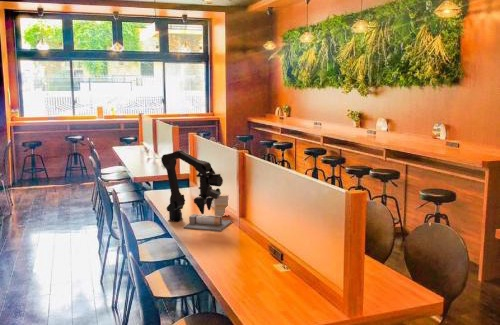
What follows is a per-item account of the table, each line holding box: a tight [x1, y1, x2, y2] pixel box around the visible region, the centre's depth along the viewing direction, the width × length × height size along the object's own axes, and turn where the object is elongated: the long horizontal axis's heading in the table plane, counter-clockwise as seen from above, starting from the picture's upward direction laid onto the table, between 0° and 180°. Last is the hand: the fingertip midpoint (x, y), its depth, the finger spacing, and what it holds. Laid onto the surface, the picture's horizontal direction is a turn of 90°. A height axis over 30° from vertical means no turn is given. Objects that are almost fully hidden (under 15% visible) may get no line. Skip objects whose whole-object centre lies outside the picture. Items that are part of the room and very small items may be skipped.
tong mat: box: [183, 213, 233, 233], centre depth 279 cm, size 22×19×5 cm
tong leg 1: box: [196, 216, 220, 225], centre depth 277 cm, size 14×1×4 cm, turn 72°
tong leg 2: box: [197, 214, 223, 224], centre depth 280 cm, size 14×1×4 cm, turn 71°
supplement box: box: [213, 193, 229, 216], centre depth 297 cm, size 8×5×13 cm, turn 84°
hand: (205, 212), depth 279 cm, fingers open, 9 cm apart
